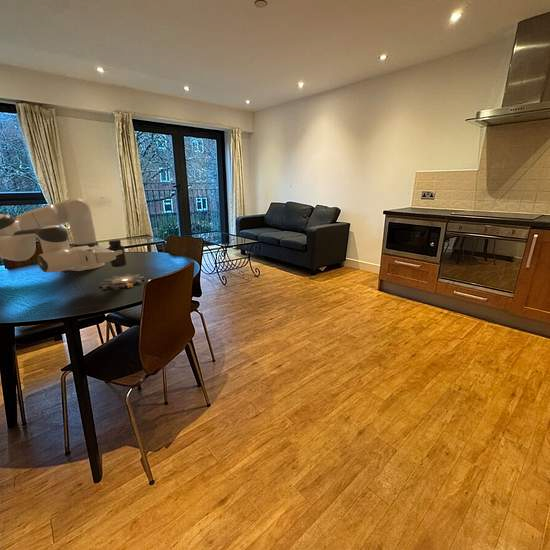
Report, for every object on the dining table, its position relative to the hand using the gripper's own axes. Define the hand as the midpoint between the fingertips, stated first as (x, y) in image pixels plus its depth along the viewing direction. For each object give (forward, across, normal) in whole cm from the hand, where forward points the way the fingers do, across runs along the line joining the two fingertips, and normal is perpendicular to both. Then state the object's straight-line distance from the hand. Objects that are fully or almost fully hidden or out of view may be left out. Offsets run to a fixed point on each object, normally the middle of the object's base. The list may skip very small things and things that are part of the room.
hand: (118, 250), depth 139 cm
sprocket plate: (-1, 0, -16) cm, 16 cm away
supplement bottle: (-1, 0, -7) cm, 7 cm away
